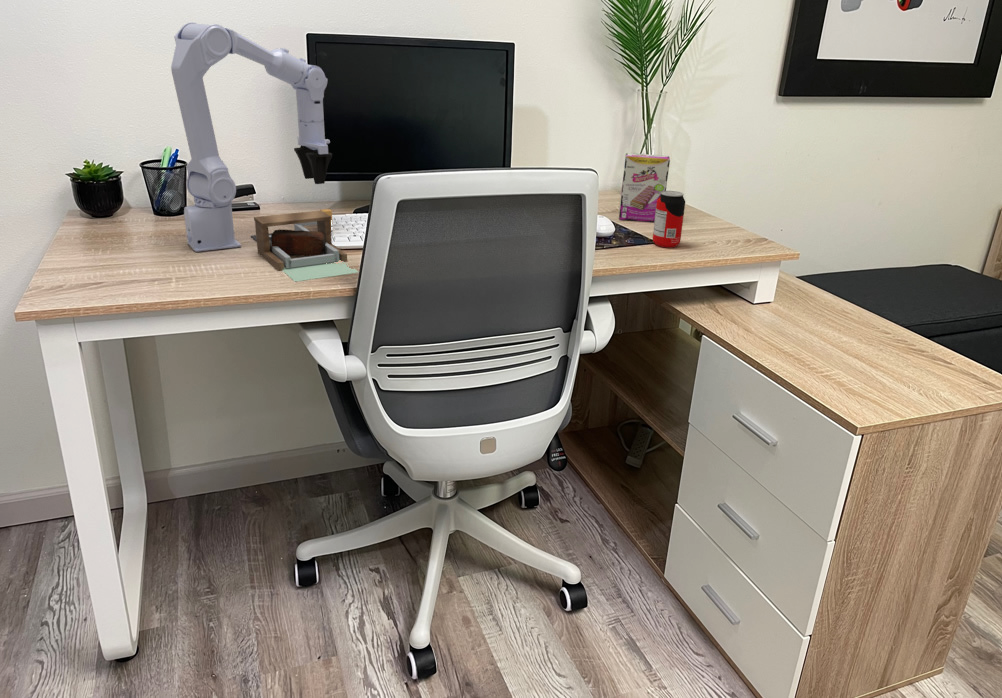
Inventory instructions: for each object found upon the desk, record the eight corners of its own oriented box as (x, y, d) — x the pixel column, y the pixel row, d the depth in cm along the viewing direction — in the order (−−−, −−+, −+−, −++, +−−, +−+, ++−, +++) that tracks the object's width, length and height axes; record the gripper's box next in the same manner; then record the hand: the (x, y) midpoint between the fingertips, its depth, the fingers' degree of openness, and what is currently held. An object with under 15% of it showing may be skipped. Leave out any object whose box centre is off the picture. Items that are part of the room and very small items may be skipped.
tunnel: (278, 270, 153) (274, 233, 150) (257, 252, 164) (253, 217, 161) (347, 261, 160) (345, 225, 157) (322, 244, 171) (320, 210, 168)
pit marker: (258, 243, 170) (258, 242, 170) (250, 236, 174) (250, 235, 174) (294, 239, 174) (294, 238, 174) (285, 232, 178) (285, 231, 178)
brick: (272, 256, 160) (270, 233, 159) (276, 250, 164) (274, 228, 162) (324, 257, 161) (322, 235, 159) (327, 252, 165) (326, 230, 163)
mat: (295, 282, 147) (295, 281, 147) (278, 268, 155) (278, 267, 155) (359, 273, 154) (359, 272, 154) (340, 259, 161) (340, 258, 161)
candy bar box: (618, 220, 200) (624, 155, 193) (618, 216, 204) (624, 152, 198) (662, 223, 199) (670, 158, 192) (662, 218, 203) (669, 154, 197)
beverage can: (682, 248, 177) (689, 196, 172) (655, 248, 177) (661, 195, 172) (675, 241, 183) (682, 190, 178) (649, 240, 183) (654, 189, 178)
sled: (286, 268, 154) (284, 245, 152) (250, 237, 173) (248, 217, 171) (373, 256, 163) (372, 234, 161) (329, 228, 182) (328, 208, 180)
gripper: (339, 124, 173) (342, 185, 178) (316, 116, 184) (320, 174, 189) (308, 125, 169) (312, 187, 175) (287, 117, 180) (291, 176, 186)
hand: (314, 180), depth 182 cm, fingers open, 6 cm apart
